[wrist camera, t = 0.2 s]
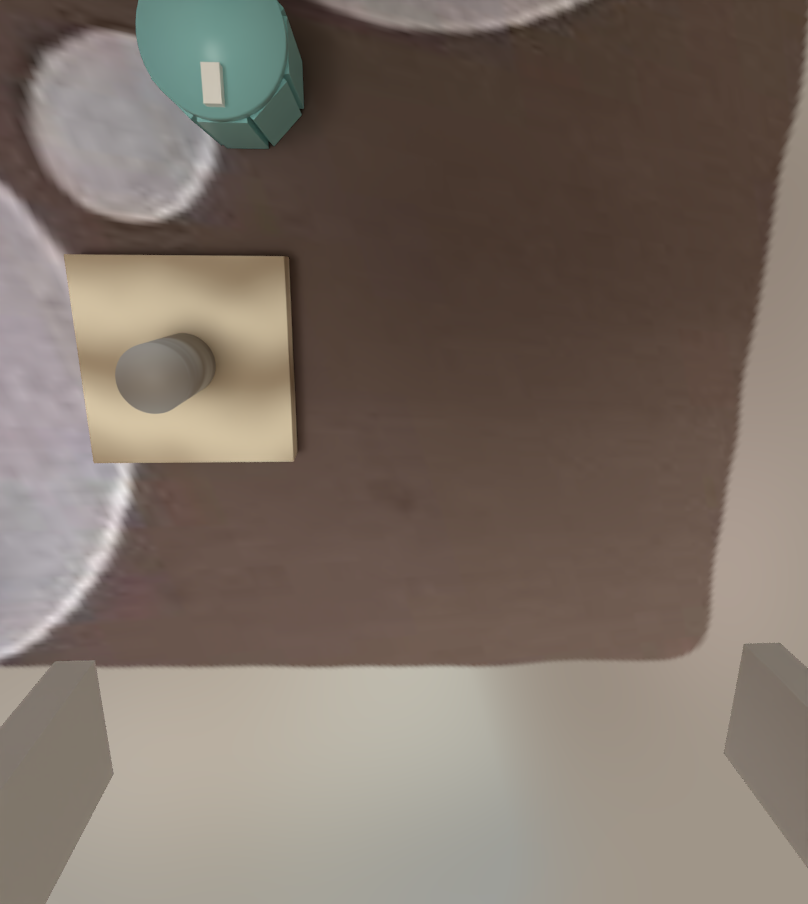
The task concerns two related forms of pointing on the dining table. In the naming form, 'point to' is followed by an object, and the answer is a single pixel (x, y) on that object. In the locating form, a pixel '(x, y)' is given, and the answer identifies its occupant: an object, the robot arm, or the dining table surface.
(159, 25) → the cap
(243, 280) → the bolt post
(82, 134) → the dining table surface
